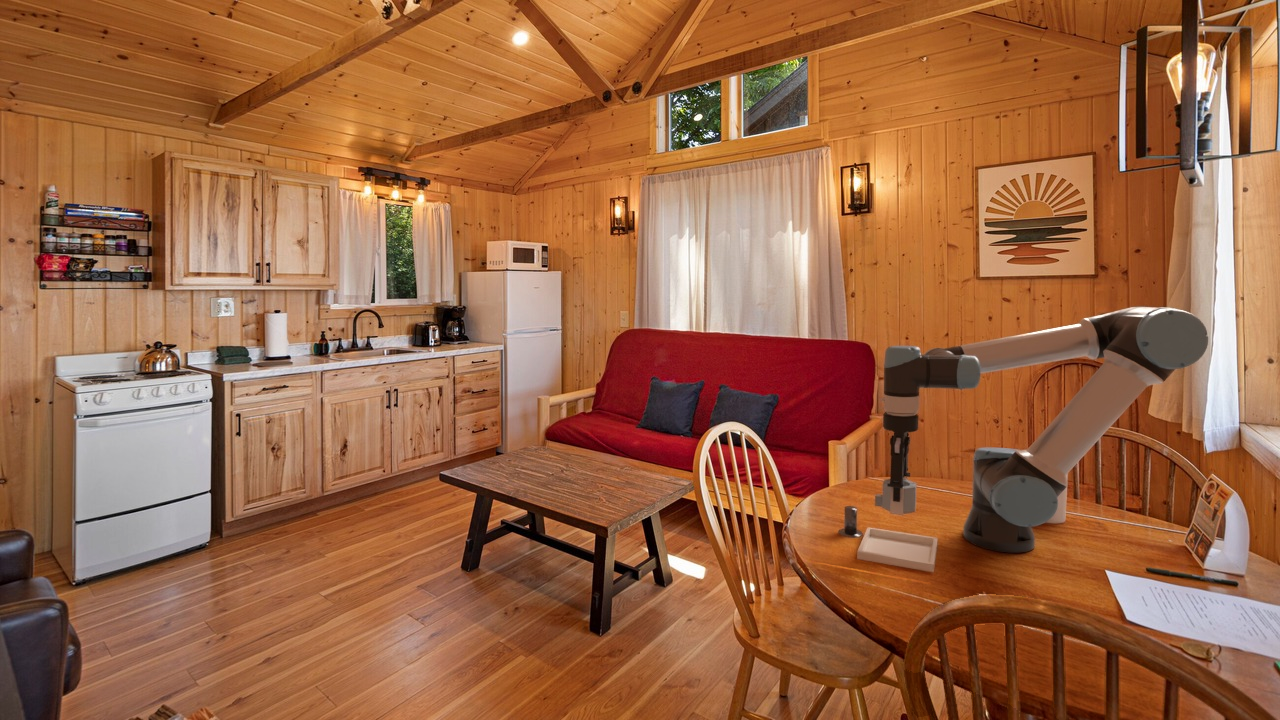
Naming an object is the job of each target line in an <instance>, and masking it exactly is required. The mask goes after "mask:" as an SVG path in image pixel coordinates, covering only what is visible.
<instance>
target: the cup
mask: <svg viewBox="0 0 1280 720" xmlns="http://www.w3.org/2000/svg"><path fill="white" fill-rule="evenodd" d="M1068 476H1069V472H1068V473H1067V475H1066V478H1067V482H1068V480H1069V479H1068V478H1069V477H1068ZM1067 494H1068V486H1067V487H1066V488H1065V489H1064V490H1063V491H1062V493H1061V494H1060V495H1059V496H1058V497H1057V499H1058V507H1057V510H1056V512H1055V514H1054V516H1053V517H1052V518H1051V519H1050V520H1048V521H1047V522H1045V523H1047V524H1062V523H1065V522H1066V517H1067V516H1066V515H1067V496H1068V495H1067Z"/></svg>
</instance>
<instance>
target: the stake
mask: <svg viewBox="0 0 1280 720" xmlns="http://www.w3.org/2000/svg"><path fill="white" fill-rule="evenodd" d="M857 525H858V508H857V507H856V506H854V505H845V507H844V525H843V526H844V528H841V529H839V530H838V534H839V535H840V536H843V537H846V538H851V539H855V538H861V537H864V533H863V532H862V531H861V530H859V529H858V526H857Z"/></svg>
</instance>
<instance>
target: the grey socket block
mask: <svg viewBox="0 0 1280 720" xmlns="http://www.w3.org/2000/svg"><path fill="white" fill-rule="evenodd" d="M894 482H896V481H894ZM887 484H890V478H885V479H884V480H883V482H882V494H881V493H880V494H877V493H876V494H875V495H874V506H875V507H882V509H883V510H886V511H888V512H890V498H891V487H888V486H887ZM903 485H904V486H903V487H904V501H903V515H905V514H911V513H912V514H913V513H915V512H916V509H917V482H915V481H911V480H910V479H907V480H905V479H903Z"/></svg>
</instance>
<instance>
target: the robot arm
mask: <svg viewBox="0 0 1280 720" xmlns="http://www.w3.org/2000/svg"><path fill="white" fill-rule="evenodd" d="M1208 345H1209V336H1208V329H1207V328H1206V326H1205V324H1204V323H1203V322H1202V320H1201V319H1200V318H1198V316H1196V315H1194V314H1193V313H1191V312H1189V311H1186V310H1183V309H1182V310H1181V309H1179V308H1175V307H1168V306H1167V307H1165V306H1164V307H1150V306H1132V307H1127V308H1124V309H1123V308H1122V309H1120V310H1115V311H1112V312H1107V313H1103V314H1100V315H1095V316H1094V315H1093V316H1091V317H1085V318H1081V319H1080V321H1079V322H1078V323H1076V324H1072V325H1066V326H1060V327H1054V328H1050V329H1049V328H1048V329H1044V330H1043V329H1042V330H1039V331H1032V332H1028V333H1022V334H1016V335H1012V336H1005V337H1000V338H995V339H988V340H983V341H978V342H971V343H967V344H966V343H965V344H962V345H958V346H952V347H951V346H949V347H945V348H942V347H935V348H931V349H929V350H927V351H926V352H924V354H922V352H921V348H920V347H919V346H917V345H916V346H915V345H892V346H888V347H887V348H886V349H885V352H884V353H885V354H884V364H883V397H881V398H880V401H881V402H884V403H883V410H884V413H883V414H882V415H883V416H882V417H883V418H882V427H883V429H885V430H887V431H888V432H889V431H891V432H893V435H892V434H891V437H890V438H889V439H890V440H889V444H890V478H889V479H890V484H887V486H888V487H891V498H890V511H889V514H890V515H897V516H904V514H903V501H904V487H903V486H904V485H903V479H905V480H908V478H911V472H908V470H909V468H908V466H909V465H908V463H909V462H908V461H909V455H908V454H909V451H910V443H911V437H910V436H909V435H910V434H909V433H914V432H917V431H918V430H919V419H920V418H919V415H918V413H919V412H920V389H921V388H923V389H928V388H929V389H950V390H951V389H953V390H959V391H960V390H965V389H967V390H968V389H969V390H971V389H975V388H977V387H978V386H979V384H980V380H981V374H986V373H991V372H998V371H1004V370H1011V369H1016V368H1023V367H1028V366H1029V367H1030V366H1036V365H1040V364H1047V363H1053V362H1059V361H1065V360H1071V359H1077V358H1082V357H1086V358H1088V359H1090V360H1097V359H1099V360H1100V359H1104V362H1103V363H1102V364H1101V365H1100V367H1099V368H1098V369H1097V370H1096V371H1095V373H1094V374H1092V376H1091V377H1090V378H1089V379H1088V380H1087V382H1085V384H1084V385H1083V386H1082V387H1081V388H1080V389H1079V390H1078V392H1076V394H1075V395H1074V396H1073V398H1071V400H1070V401H1068V403H1067V404H1066V405H1065V406H1064V407H1063V409H1062V410H1061V411H1060V412H1059V413H1058V415H1056V416H1055V418H1054V419H1053V420H1052V421H1051V422H1050V423H1049V425H1048V426H1047V427H1046V428H1045V429H1044V430H1043V431H1042V433H1041V434H1040V435H1039V436H1038V437H1037V438H1036V439H1035V440H1034V442H1032V444H1031V445H1030V446H1029V447H1028V448H1026V449H1016V448H1008V447H993V446H992V447H990V446H989V447H988V446H987V447H979V448H977V449H975V451H974V454H973V458H972V462H973V468H972V469H973V470H972V471H973V472H972V503H971V509H970V511H969V513H968V515H967V517H966V520H965V522H964V525H963V534H962V535H963V537H964V539H965V540H966V541H967V542H968V543H971V544H973V545H974V546H978V547H979V548H983V549H986V550H990V551H994V552H999V553H1001V552H1002V553H1009V554H1012V553H1013V554H1014V553H1015V554H1018V553H1019V554H1020V553H1026V552H1029V551H1032V550H1033V549H1035V545H1036V544H1035V543H1036V541H1035V540H1036V539H1035V538H1036V537H1035V534H1034V530H1033V527H1037V526H1040V525H1043V524H1045V523H1046V522H1047V521H1048V520H1050V519H1051V518H1052V517H1053V516H1054V514H1055V512H1056V510H1057V507H1058V499H1057V497H1058V496H1059V495H1060V494H1061V493H1062V491H1063V490H1064V489H1065V488H1066V487H1067V488H1068V485H1069V484H1068V481H1067V478H1066V475H1067V473H1068V474H1069V473H1070V471H1071V470H1072V469H1073V468H1074V467H1075V466H1076V465H1077V464H1078V463H1079V461H1080V460H1081V459H1083V457H1084V456H1085V455H1087V453H1088V452H1089V451H1090V450H1091V448H1092V447H1094V445H1095V444H1096V443H1097V442H1098V441H1100V439H1101V437H1102V436H1103V435H1104V434H1105V433H1106V432H1107V431H1108V430H1109V429H1110V428H1111V427H1112V426H1113V425H1114V424H1115V422H1116V421H1117V420H1118V419H1119V418H1120V417H1121V416H1122V415H1123V414H1124V413H1125V412H1126V410H1127V409H1128V408H1129V407H1130V406H1131V405H1132V404H1133V403H1134V402H1135V400H1137V398H1139V396H1140V395H1141V394H1142V393H1143V392H1144V390H1146V388H1148V387H1149V386H1152V385H1153V386H1154V385H1160V384H1161V385H1162V384H1163V383H1164V382H1165V381H1166V380H1167V379H1168V378H1169V377H1170V376H1171V375H1172V374H1173V372H1175V370H1179V369H1183V368H1187V367H1190V366H1192V365H1194V364H1196V363H1197V361H1199V360H1200V359H1201V358H1202V357H1203V356H1204V354H1205V353H1206V352H1207V351H1206V350H1207V349H1208ZM894 481H896V482H894Z"/></svg>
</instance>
